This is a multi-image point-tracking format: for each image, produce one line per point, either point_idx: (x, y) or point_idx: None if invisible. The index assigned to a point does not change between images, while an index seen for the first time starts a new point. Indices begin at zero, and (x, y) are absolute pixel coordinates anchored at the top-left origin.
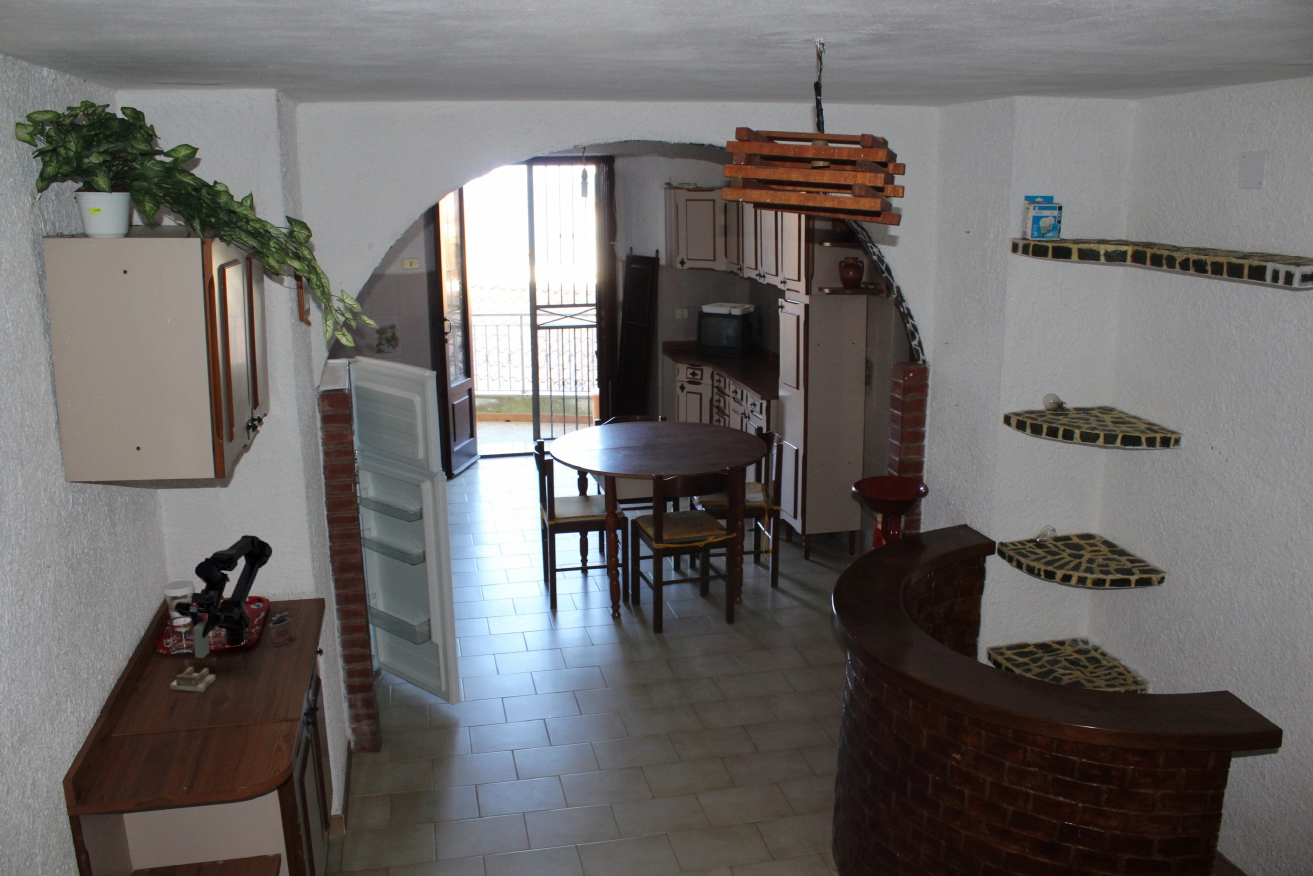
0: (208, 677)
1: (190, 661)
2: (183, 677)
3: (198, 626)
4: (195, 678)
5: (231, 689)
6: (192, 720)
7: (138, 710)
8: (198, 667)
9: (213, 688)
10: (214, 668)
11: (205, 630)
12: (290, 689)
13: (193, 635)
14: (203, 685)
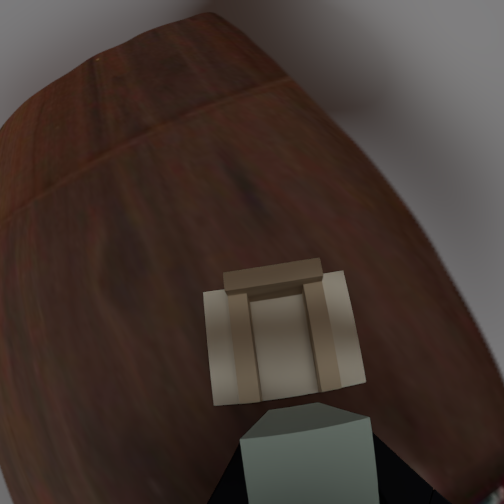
0: (227, 374)
1: None
2: (282, 264)
3: (322, 484)
4: (224, 276)
5: (119, 343)
6: (153, 158)
7: (331, 148)
8: None
9: (183, 334)
10: None
11: (228, 489)
12: None
13: None
14: (207, 307)
